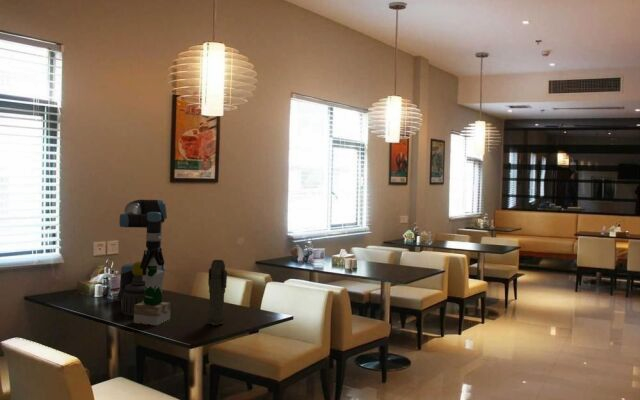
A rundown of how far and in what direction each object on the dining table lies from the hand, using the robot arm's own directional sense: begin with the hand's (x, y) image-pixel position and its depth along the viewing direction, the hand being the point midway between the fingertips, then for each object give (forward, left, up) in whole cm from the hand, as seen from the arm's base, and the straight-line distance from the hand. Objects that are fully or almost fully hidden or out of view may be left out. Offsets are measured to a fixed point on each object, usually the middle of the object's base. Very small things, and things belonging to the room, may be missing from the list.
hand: (152, 279), depth 318 cm
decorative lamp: (-14, -17, -24) cm, 32 cm away
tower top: (0, +1, -19) cm, 19 cm away
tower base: (0, +1, -24) cm, 24 cm away
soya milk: (0, +1, -13) cm, 13 cm away
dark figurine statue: (-11, +34, -24) cm, 43 cm away
